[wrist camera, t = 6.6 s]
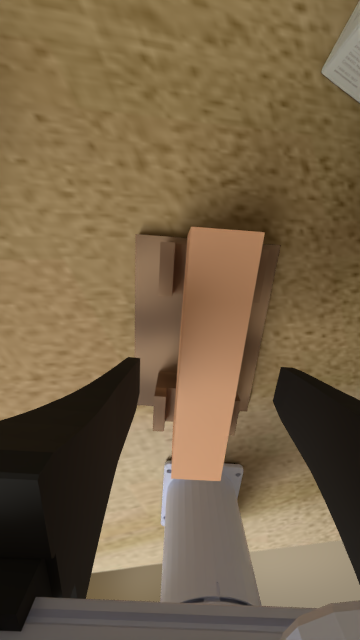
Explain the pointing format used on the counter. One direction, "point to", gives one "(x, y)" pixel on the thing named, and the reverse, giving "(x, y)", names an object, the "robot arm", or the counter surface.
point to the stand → (165, 322)
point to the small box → (346, 58)
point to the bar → (211, 346)
